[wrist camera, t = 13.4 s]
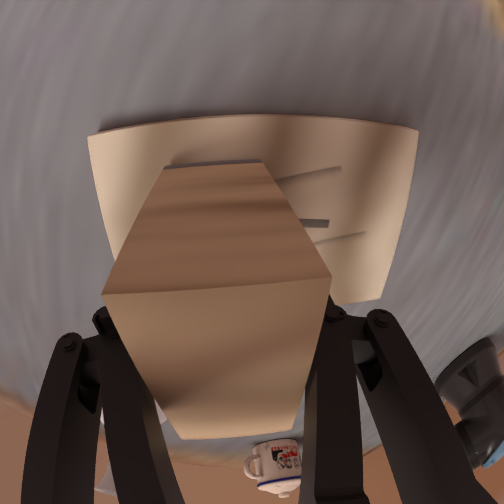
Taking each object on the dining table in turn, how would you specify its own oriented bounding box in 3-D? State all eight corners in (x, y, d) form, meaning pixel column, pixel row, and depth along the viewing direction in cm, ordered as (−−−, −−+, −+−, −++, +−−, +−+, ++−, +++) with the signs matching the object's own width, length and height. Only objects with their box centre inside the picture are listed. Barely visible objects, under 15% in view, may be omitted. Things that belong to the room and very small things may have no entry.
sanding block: (165, 165, 14) (101, 294, 5) (260, 158, 14) (332, 276, 6) (185, 297, 19) (181, 439, 10) (259, 291, 19) (291, 429, 11)
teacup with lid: (307, 437, 44) (320, 489, 34) (279, 452, 48) (288, 498, 38) (254, 435, 39) (264, 496, 30) (229, 450, 43) (235, 502, 33)
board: (406, 126, 16) (419, 131, 14) (372, 287, 23) (379, 298, 22) (97, 132, 14) (87, 136, 12) (139, 309, 21) (136, 322, 20)
